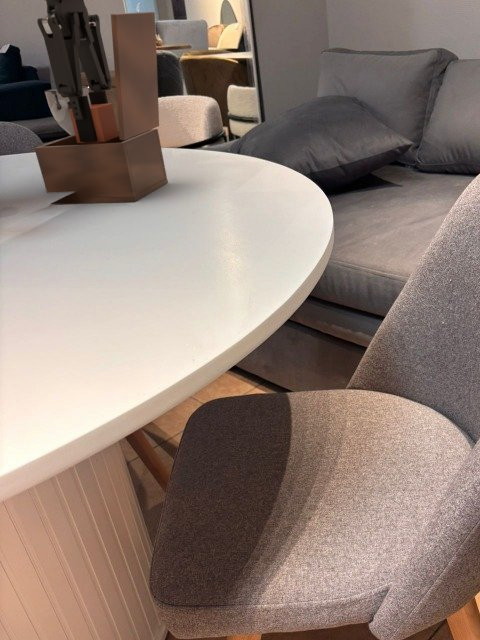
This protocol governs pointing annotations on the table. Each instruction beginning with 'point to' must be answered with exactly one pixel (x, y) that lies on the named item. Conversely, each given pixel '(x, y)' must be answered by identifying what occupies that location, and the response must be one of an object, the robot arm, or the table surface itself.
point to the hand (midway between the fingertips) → (98, 137)
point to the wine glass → (63, 108)
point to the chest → (103, 168)
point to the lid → (135, 72)
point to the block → (100, 122)
